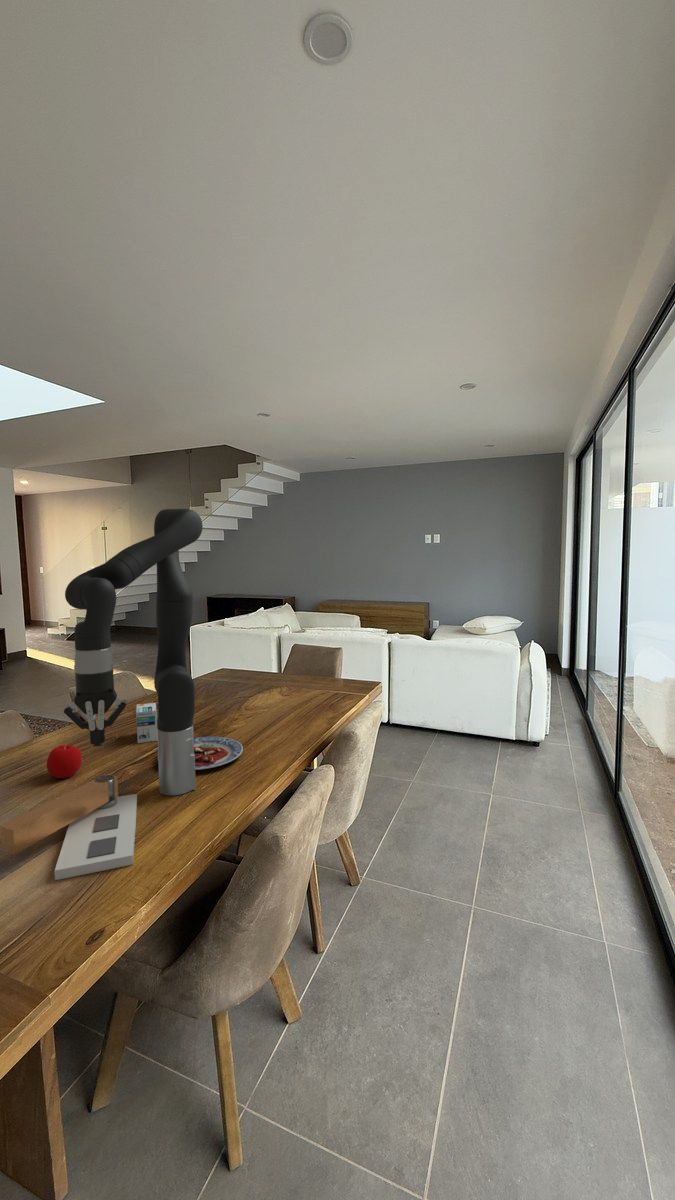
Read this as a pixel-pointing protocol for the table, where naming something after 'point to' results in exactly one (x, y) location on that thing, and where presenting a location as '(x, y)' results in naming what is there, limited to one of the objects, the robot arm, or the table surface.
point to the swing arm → (57, 813)
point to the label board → (99, 839)
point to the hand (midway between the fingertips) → (97, 745)
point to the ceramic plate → (215, 751)
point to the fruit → (64, 761)
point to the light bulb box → (146, 722)
